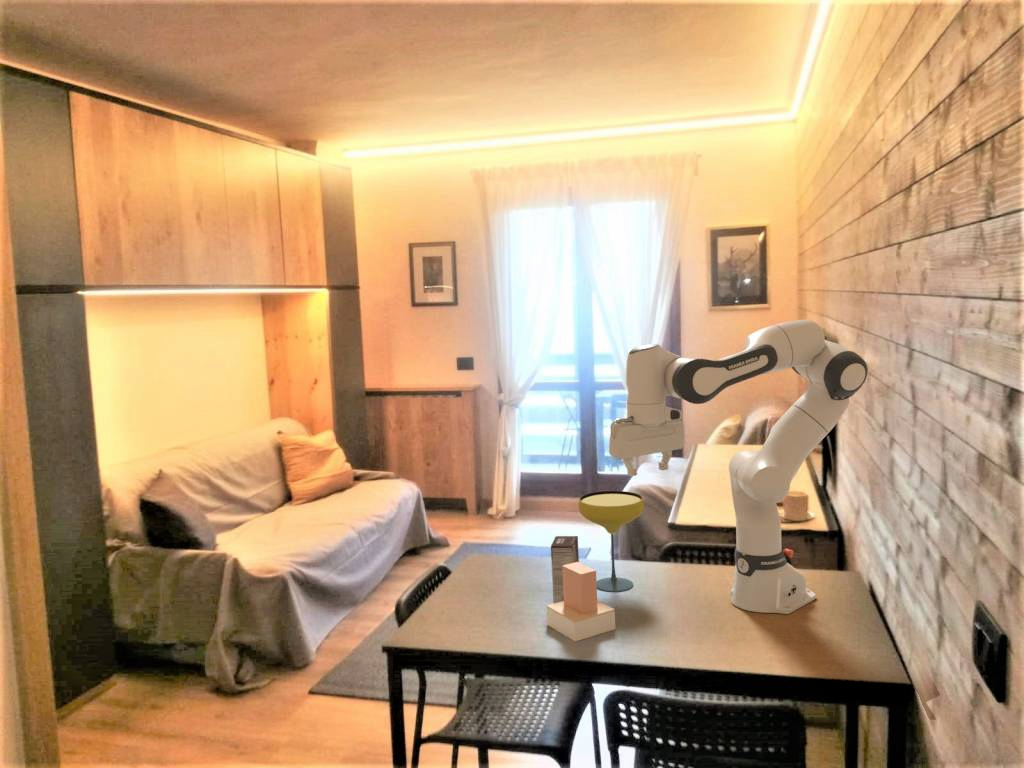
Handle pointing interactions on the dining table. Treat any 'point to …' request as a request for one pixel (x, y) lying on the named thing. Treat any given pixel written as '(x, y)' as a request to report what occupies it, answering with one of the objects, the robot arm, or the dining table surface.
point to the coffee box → (562, 561)
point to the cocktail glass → (612, 523)
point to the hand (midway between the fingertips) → (648, 472)
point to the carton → (579, 587)
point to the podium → (580, 620)
